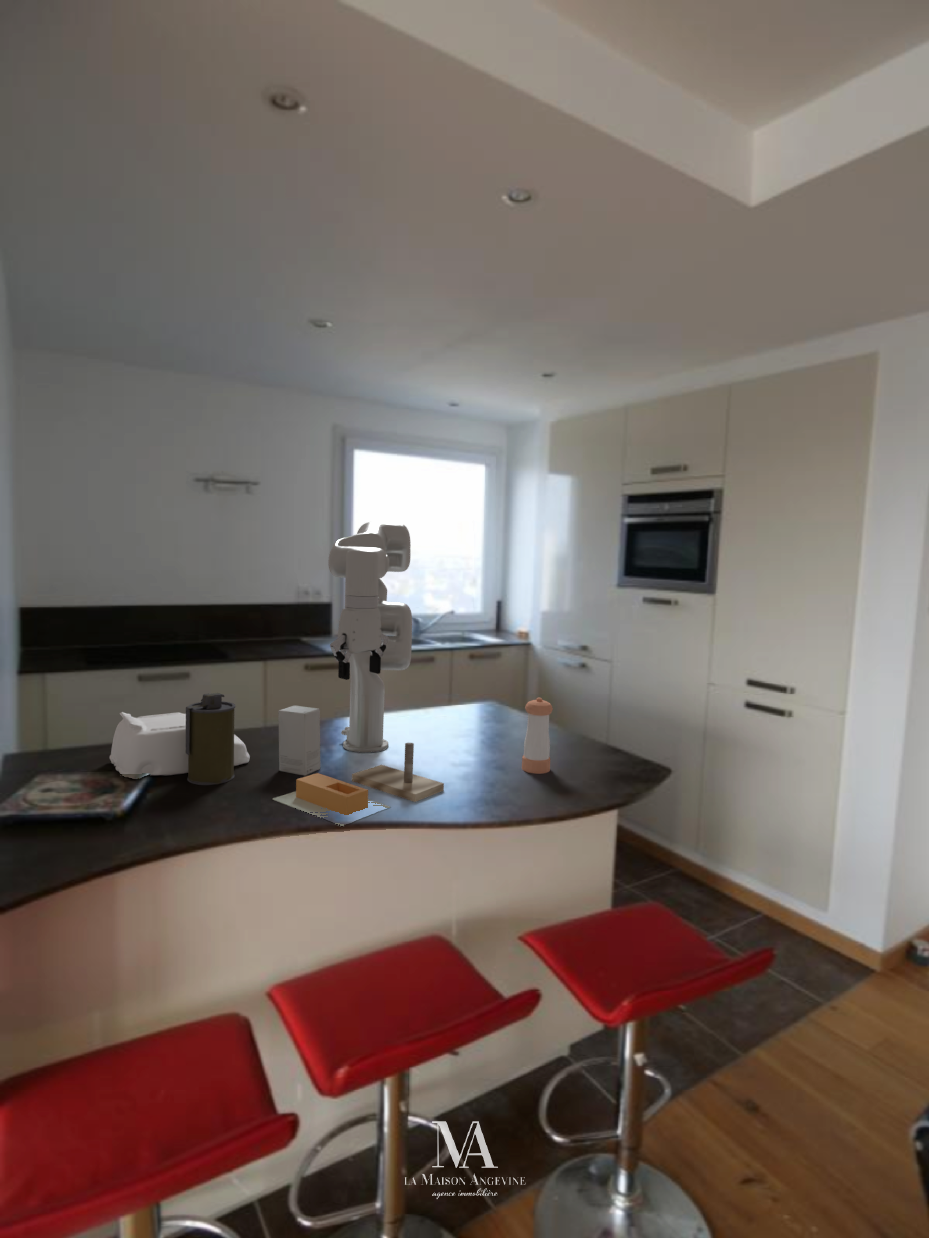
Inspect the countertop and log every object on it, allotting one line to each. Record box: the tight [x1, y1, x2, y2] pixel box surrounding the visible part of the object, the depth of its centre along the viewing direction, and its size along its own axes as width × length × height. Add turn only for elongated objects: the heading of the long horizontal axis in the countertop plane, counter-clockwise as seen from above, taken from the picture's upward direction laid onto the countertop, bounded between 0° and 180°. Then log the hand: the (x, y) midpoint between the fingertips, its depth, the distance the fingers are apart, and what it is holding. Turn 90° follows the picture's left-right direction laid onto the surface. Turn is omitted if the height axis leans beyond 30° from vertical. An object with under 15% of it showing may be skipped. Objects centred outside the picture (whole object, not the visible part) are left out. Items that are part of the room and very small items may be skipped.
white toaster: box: [109, 711, 251, 776], centre depth 166 cm, size 19×30×13 cm, turn 127°
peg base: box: [351, 742, 445, 803], centre depth 156 cm, size 20×10×11 cm, turn 53°
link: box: [295, 772, 369, 815], centre depth 144 cm, size 16×6×4 cm, turn 53°
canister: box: [185, 692, 236, 786], centre depth 156 cm, size 11×10×20 cm
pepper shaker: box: [521, 697, 554, 775], centre depth 173 cm, size 7×7×19 cm
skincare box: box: [278, 705, 321, 777], centre depth 165 cm, size 8×7×16 cm
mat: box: [272, 790, 391, 827], centre depth 144 cm, size 22×14×1 cm, turn 53°
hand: (359, 675), depth 156 cm, fingers open, 9 cm apart
